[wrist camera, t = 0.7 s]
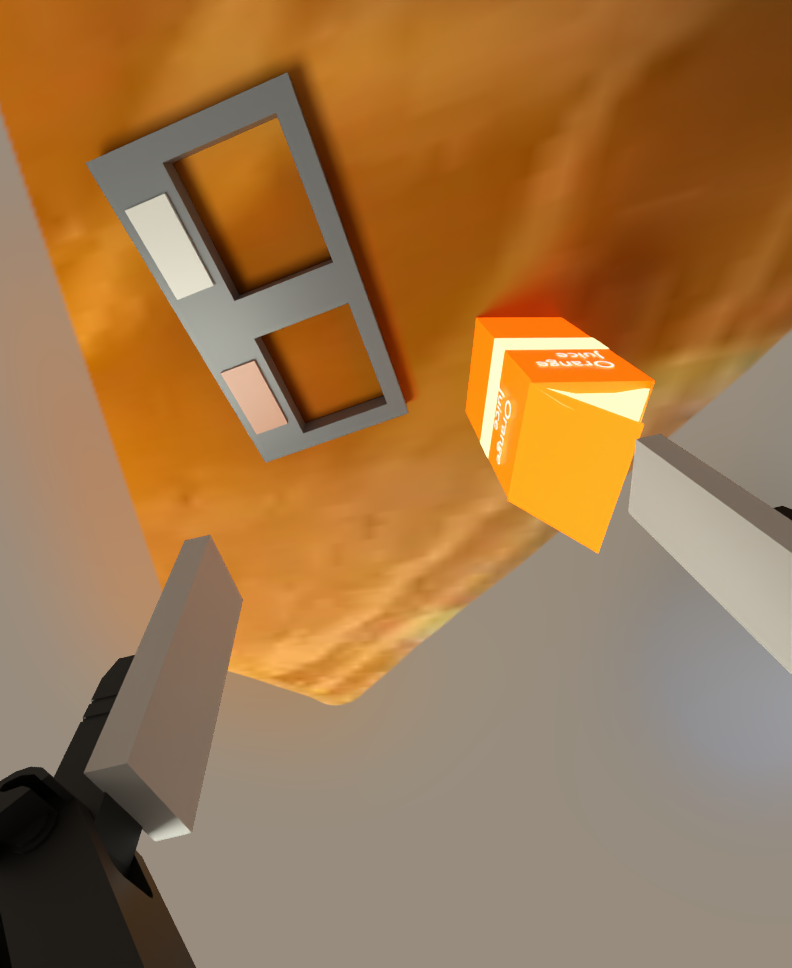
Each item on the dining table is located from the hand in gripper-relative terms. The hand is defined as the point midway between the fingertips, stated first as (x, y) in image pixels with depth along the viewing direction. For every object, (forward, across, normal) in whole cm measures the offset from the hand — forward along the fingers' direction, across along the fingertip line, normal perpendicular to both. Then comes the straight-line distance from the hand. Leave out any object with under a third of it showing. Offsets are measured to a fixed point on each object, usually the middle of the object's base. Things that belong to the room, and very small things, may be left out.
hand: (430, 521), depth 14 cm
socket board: (+28, -6, +3) cm, 29 cm away
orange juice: (+28, +12, -6) cm, 31 cm away
